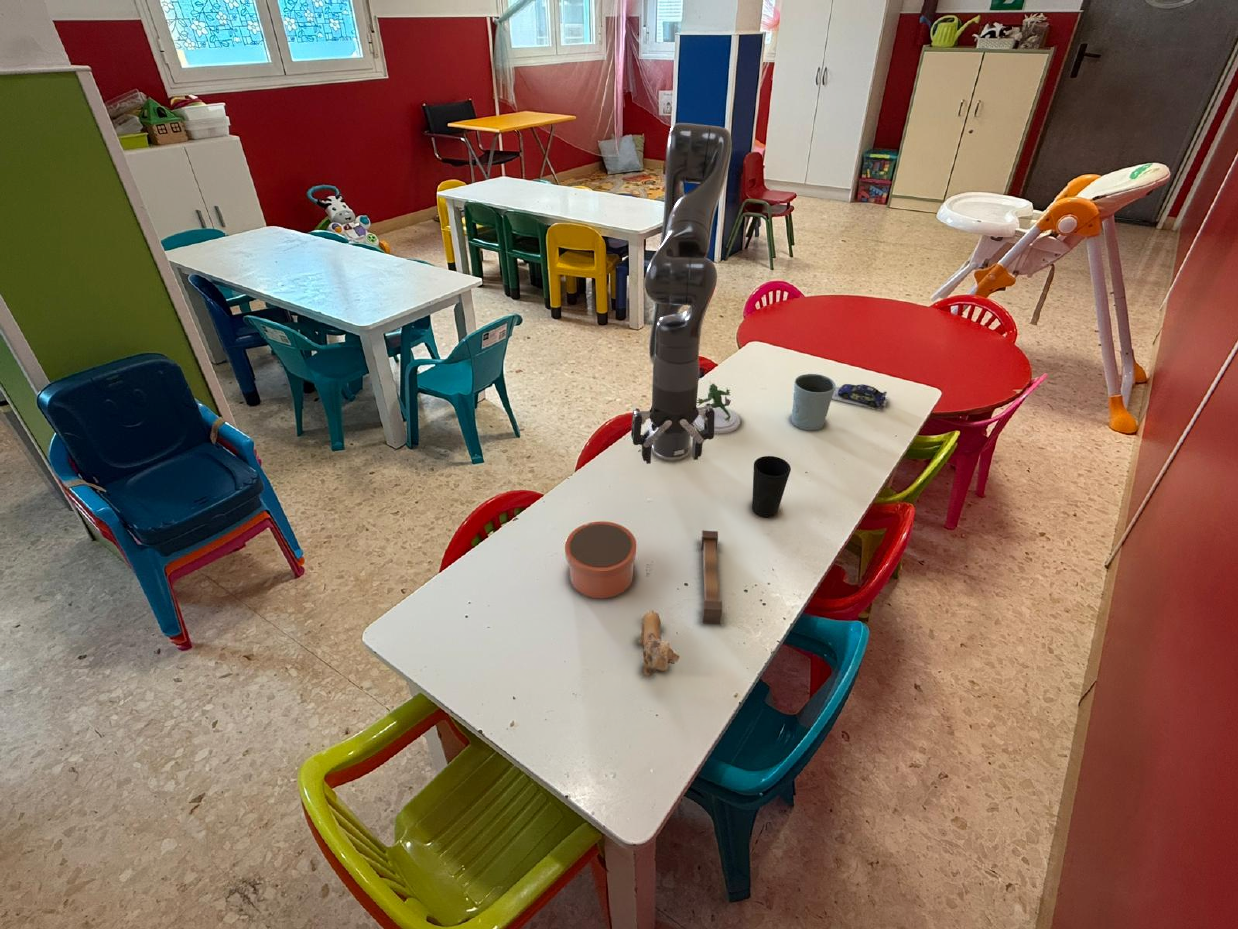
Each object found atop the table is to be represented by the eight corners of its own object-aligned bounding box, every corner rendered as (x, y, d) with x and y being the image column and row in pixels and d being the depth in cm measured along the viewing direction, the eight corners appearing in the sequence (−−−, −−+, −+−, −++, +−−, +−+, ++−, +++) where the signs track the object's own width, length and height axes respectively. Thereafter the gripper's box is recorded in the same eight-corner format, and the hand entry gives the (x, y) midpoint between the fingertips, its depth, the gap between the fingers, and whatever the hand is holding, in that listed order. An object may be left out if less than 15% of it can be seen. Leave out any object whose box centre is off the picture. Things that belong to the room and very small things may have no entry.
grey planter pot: (831, 419, 170) (840, 379, 163) (819, 436, 164) (828, 396, 157) (795, 408, 175) (802, 369, 168) (782, 425, 168) (789, 385, 161)
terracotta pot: (562, 598, 120) (559, 568, 115) (572, 548, 131) (570, 519, 126) (633, 603, 119) (634, 572, 114) (638, 552, 130) (638, 522, 125)
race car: (828, 398, 179) (831, 384, 177) (833, 388, 184) (837, 374, 181) (884, 411, 174) (888, 397, 171) (887, 400, 178) (891, 386, 176)
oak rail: (720, 624, 115) (722, 610, 112) (702, 622, 115) (704, 608, 113) (716, 544, 131) (717, 531, 129) (700, 543, 131) (702, 530, 129)
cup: (782, 523, 137) (791, 479, 129) (746, 518, 138) (753, 474, 131) (782, 501, 143) (790, 457, 136) (747, 496, 144) (754, 453, 137)
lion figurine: (679, 687, 104) (682, 652, 99) (648, 693, 103) (650, 659, 98) (655, 618, 116) (657, 584, 110) (627, 624, 115) (627, 590, 109)
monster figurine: (720, 405, 177) (724, 372, 170) (748, 425, 168) (753, 391, 162) (685, 417, 172) (688, 384, 166) (713, 438, 163) (716, 403, 157)
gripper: (712, 365, 107) (705, 444, 117) (629, 371, 106) (628, 450, 115) (723, 387, 101) (715, 468, 111) (636, 393, 100) (634, 475, 109)
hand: (671, 459), depth 113 cm, fingers open, 8 cm apart
